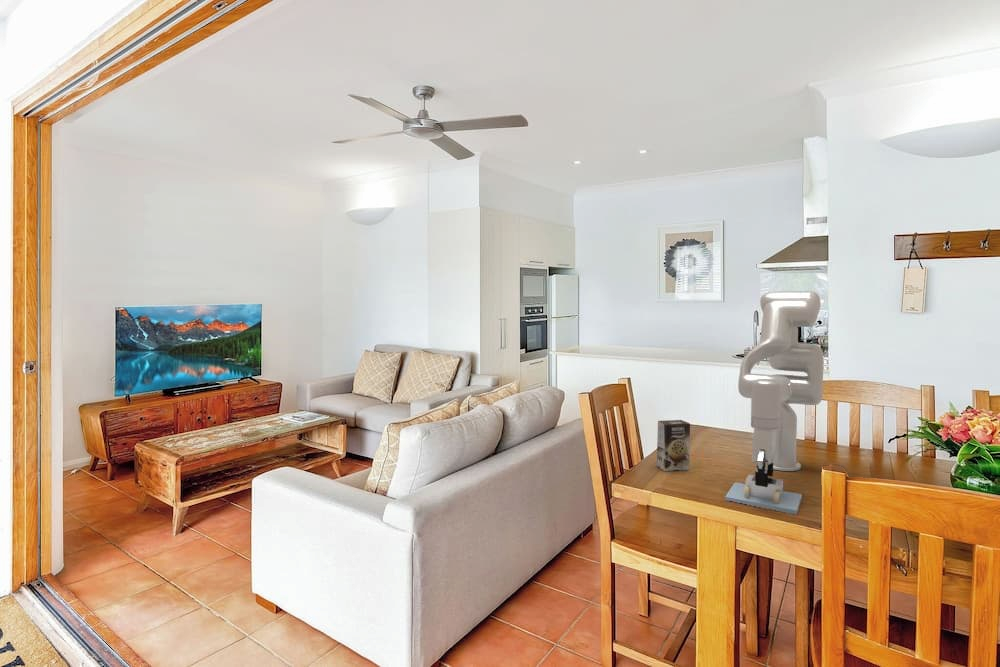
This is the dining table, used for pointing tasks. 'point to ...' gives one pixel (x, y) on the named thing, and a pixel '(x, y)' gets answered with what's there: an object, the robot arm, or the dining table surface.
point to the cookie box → (673, 445)
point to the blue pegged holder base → (786, 504)
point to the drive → (764, 488)
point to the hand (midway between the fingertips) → (764, 480)
